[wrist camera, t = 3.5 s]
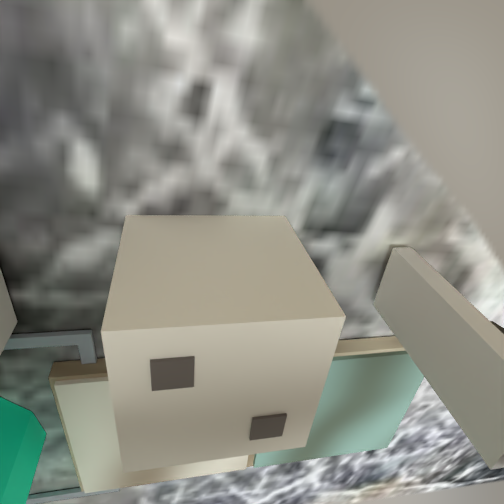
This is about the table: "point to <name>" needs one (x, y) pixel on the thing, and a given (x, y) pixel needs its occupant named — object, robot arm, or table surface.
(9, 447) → the candle
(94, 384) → the beige green flat slab
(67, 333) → the pad
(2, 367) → the table surface
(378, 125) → the table surface
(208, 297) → the die
